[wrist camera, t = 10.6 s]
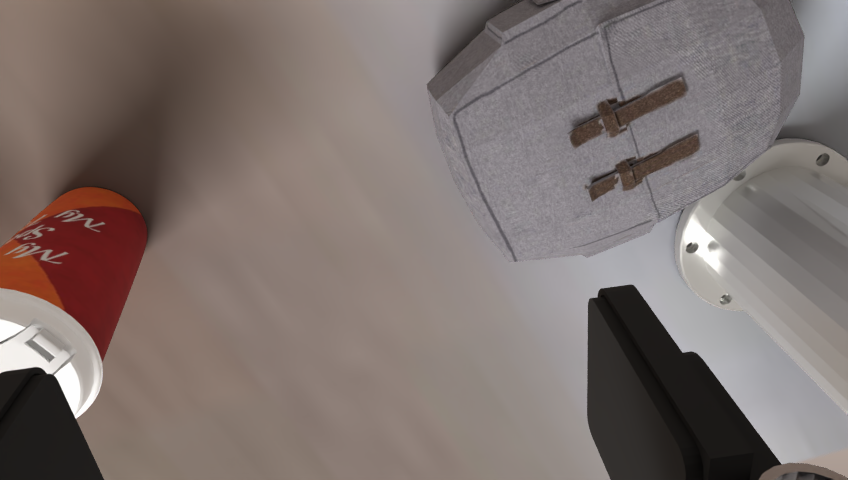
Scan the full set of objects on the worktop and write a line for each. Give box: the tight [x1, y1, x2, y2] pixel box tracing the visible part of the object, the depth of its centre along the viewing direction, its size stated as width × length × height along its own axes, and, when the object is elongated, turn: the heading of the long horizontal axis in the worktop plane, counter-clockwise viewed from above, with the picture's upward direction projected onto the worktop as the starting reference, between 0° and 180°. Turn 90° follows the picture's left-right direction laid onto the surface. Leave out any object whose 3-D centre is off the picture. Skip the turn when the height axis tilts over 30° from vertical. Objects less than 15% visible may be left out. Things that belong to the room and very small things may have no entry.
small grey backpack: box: [427, 0, 804, 262], centre depth 35 cm, size 15×8×20 cm
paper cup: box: [0, 187, 147, 418], centre depth 33 cm, size 8×8×14 cm
